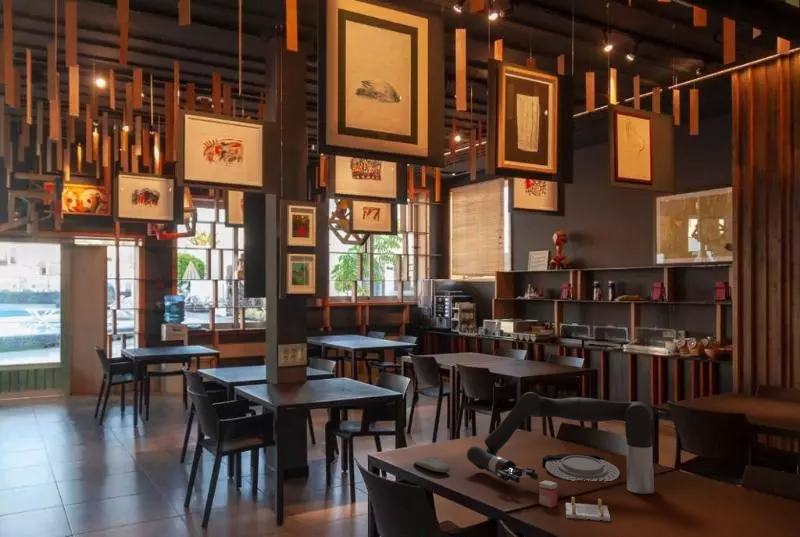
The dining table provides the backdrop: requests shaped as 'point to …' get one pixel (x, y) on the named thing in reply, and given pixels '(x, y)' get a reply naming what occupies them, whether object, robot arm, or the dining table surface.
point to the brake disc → (580, 467)
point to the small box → (548, 493)
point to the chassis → (587, 511)
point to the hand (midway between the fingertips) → (528, 478)
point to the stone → (433, 464)
